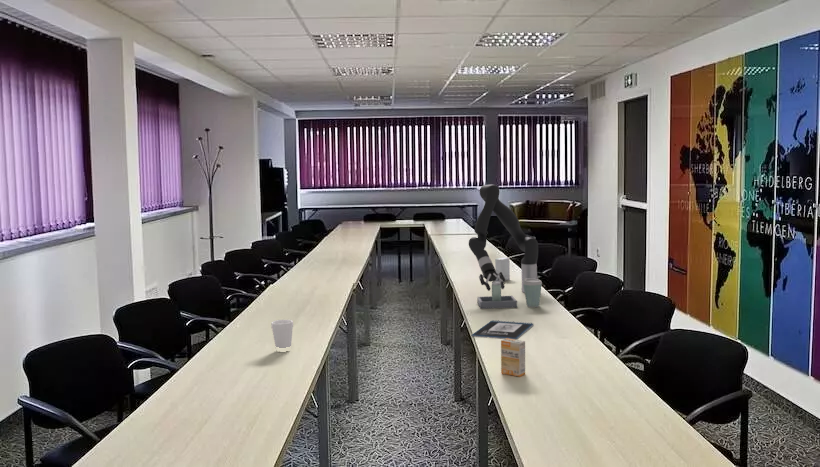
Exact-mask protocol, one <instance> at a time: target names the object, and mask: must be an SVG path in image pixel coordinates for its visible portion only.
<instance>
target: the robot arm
mask: <svg viewBox="0 0 820 467" xmlns="http://www.w3.org/2000/svg"><path fill="white" fill-rule="evenodd" d="M479 196H480V198H481V199H482V200H483V201H484V202H485V203H484V206H483V208H482V210H481V211H480V213H479V215H478V217H477V220H476V223H475V227H474V233H475V234H476V235H477V237H476V236H473V237H471V238H469V240H468V247H469V249H470V251H471V252H472V253H473V254H474V256H475V257H476V260H477V262H478V266H479V269H480V271H481V273H482V274H481V273H480V274H479V276H478V278H479V281H480V284H481V286H484V287H485V288H486V290H487V291H490V292H491V290H492V287H491V285H490V284H489V283H490V282H491V283H492V282H493V281H500V282H501V290H504V289H505V282H506V280H505V278H504V276H503V274H502V272H500V273H498V274H497V273H496V269H495V266H494V264H493V261H492V260H491V258H490V255H489V253H488V251H487V250H486V246H487V231H488V229H489V228H488V227H489V223H490V219H491V217H492V214H493V213H494V214H495V215H496V217H497V218H498V220H499V221H500V222H501V224H502V225H503V227H505V229H506V230H507V231H508V232H509V234H510V235H511V237H512V238H513V240H514V241H515V243H516V245H517V246H518V248H519V250H520V251H521V252H524V256H523V258H522V259H521V260H520V262H521V263H520V264H521V266H520V267H521V292H522V293H525V291H524V285H523V281H524V279H526V278H532V279H539V276H538V266H537V263H538V259H539V242H538V240H537V239H536V238H534V237H529V236H528V235H527V234H526V233H525V232H524V231H523V230H522V227H521V225H520V221H519V219H518V216H517V215H516V214H515V213H514V211H513V210H512V209H511V208H510V207H508V206H507V205H506V204H504V203H503V202H502V201H501V200H500V199H499V196H500V188H499V187H498V186H497V185H496V184H484V185H482V186H481V187H480V189H479ZM498 276H499V277H498Z"/></svg>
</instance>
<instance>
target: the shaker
mask: <svg viewBox="0 0 820 467" xmlns="http://www.w3.org/2000/svg"><path fill="white" fill-rule="evenodd" d="M491 296H492V301H501V296H502V288H501V282H500V281H491Z"/></svg>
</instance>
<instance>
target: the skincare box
mask: <svg viewBox="0 0 820 467" xmlns="http://www.w3.org/2000/svg"><path fill="white" fill-rule="evenodd" d="M494 260H495V261H494V262H495V266H494V268H495V270H496V273H497V274H498V273H500V272H502V274H503V276H504V278H505V281H508V280H510V279H511V278H510V277H511V275H510V258H509V257H505V256H503V257H499V258H494ZM498 277H499V276H498Z"/></svg>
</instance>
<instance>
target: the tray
mask: <svg viewBox="0 0 820 467" xmlns="http://www.w3.org/2000/svg"><path fill="white" fill-rule="evenodd" d="M476 298H477V300H476V301H477V304H478V306H479V308H480V310H481V309H502V308H503V309H504V308H505V309H506V308H507V309H509V308H518V302H517V300H516V299H515V298H516V297H515V296H513V295H501V301H492V295H491V296H487V295H486V296H477V297H476Z"/></svg>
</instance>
